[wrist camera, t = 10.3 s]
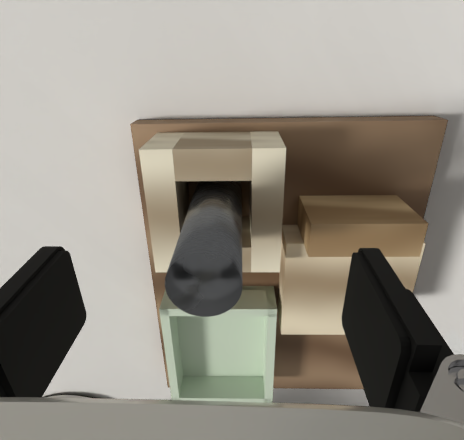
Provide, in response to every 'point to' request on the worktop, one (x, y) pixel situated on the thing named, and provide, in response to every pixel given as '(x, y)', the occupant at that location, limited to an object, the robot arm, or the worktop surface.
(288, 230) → the beige cardboard box
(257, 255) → the holder
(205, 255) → the dowel
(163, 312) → the tray
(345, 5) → the worktop surface
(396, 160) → the board
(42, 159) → the worktop surface
